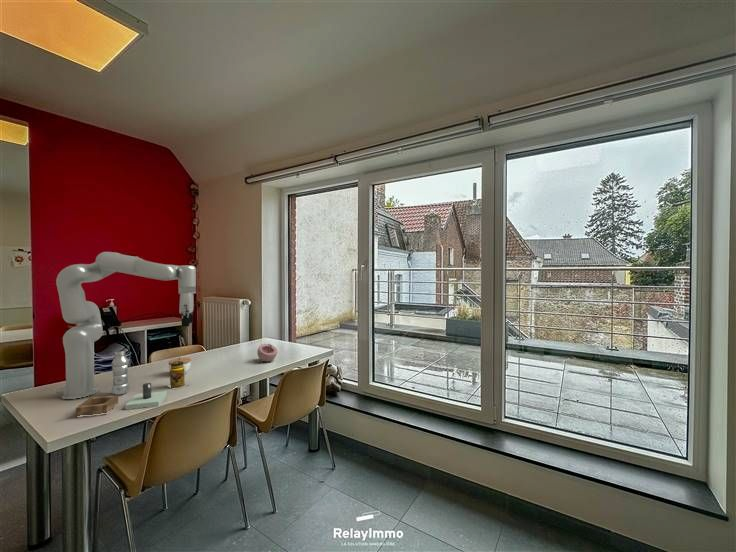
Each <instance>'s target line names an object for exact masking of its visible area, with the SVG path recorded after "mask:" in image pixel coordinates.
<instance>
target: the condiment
mask: <svg viewBox="0 0 736 552" xmlns="http://www.w3.org/2000/svg"><path fill="white" fill-rule="evenodd" d="M183 366H184V365H183V362H182V361H177V362H173V363H171V369H170V370H169V377H170V378H169V380H170V381H169V385H171V388H176V389H172V390H174V391H175V390H178V389H181V388H184V387H186V386H189V383H188V384H187V383H185V375H184V367H183ZM166 386H167V387H166V388H168V385H166Z"/></svg>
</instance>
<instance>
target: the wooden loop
mask: <svg viewBox="0 0 736 552" xmlns="http://www.w3.org/2000/svg"><path fill="white" fill-rule="evenodd" d="M116 404H118V405H119V395H114V394H113V395H106V396H95V397H94V396H93V397H89V398H87V399H86V400H85V401H83V402H82V403H81V404H79V405H78V406H76V407H75V417H76V416H80V415H93V414H101V413H107V412H108V411H110V410H111V409H112V408H113V407H114V406H115V405H116ZM110 412H111V411H110Z"/></svg>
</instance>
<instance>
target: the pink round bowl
mask: <svg viewBox="0 0 736 552" xmlns="http://www.w3.org/2000/svg"><path fill="white" fill-rule="evenodd" d="M277 354H278V349H277V348H276V347H275V346H274V345H273V344H271V343H263V344H260V345H259V347H258V349H257V357H258V359H259V360H261V361H263V362H265V363H267V362H271V361H273V360H275V359H276V357H277Z"/></svg>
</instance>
